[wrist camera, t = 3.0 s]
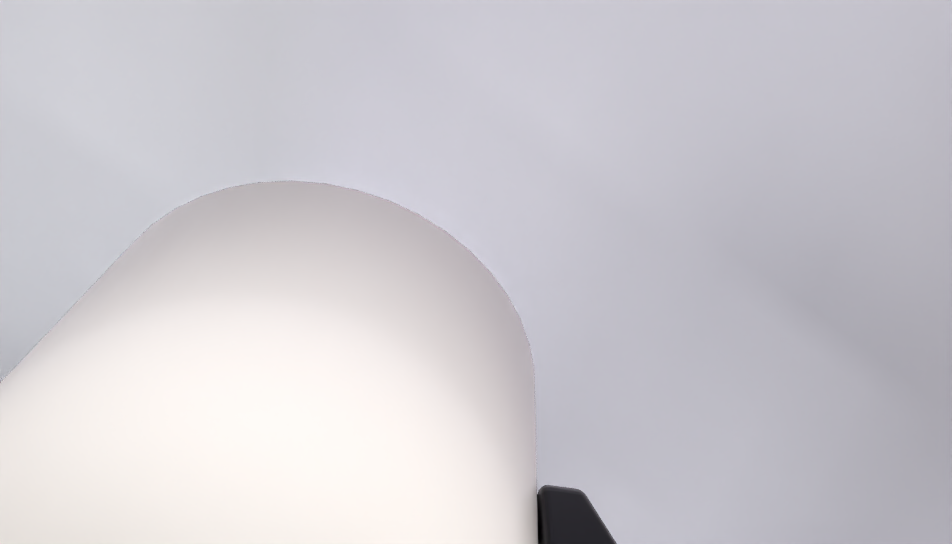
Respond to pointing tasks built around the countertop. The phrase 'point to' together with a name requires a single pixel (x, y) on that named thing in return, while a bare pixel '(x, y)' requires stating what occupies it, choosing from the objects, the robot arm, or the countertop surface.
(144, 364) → the white rounded cylinder
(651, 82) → the countertop surface
